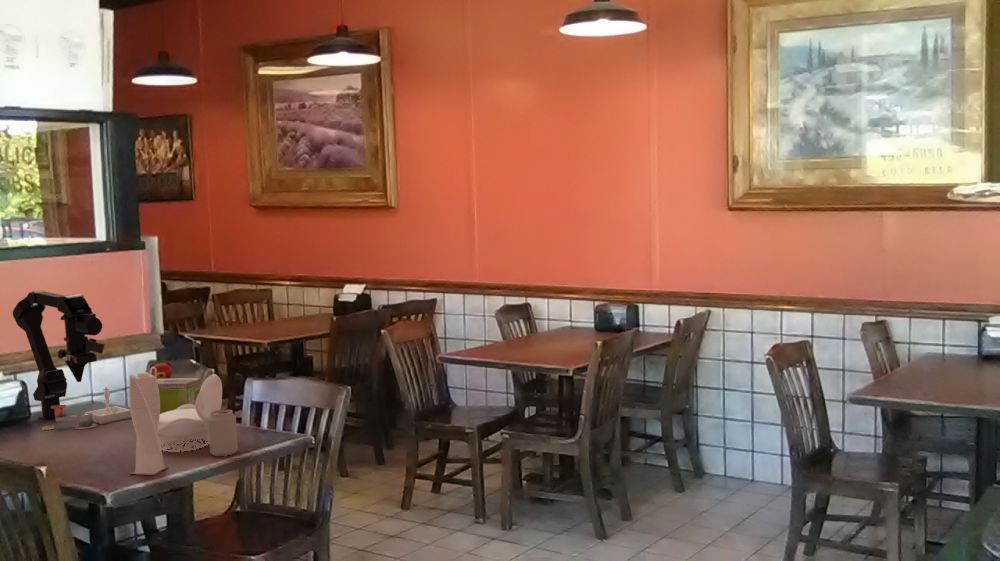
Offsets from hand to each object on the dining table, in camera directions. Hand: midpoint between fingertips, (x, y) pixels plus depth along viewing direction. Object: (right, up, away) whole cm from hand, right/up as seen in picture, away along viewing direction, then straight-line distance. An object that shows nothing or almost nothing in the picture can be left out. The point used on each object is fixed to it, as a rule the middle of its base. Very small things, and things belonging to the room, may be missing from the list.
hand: (79, 381), depth 336 cm
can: (+59, -16, -47) cm, 77 cm away
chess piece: (+8, -12, +4) cm, 15 cm away
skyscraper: (+44, -18, -63) cm, 79 cm away
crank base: (+5, -14, -7) cm, 16 cm away
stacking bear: (+27, -12, +3) cm, 29 cm away
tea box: (+35, -13, -12) cm, 39 cm away
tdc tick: (-6, -14, -8) cm, 18 cm away
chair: (+47, -15, -36) cm, 61 cm away
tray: (+8, -12, +4) cm, 15 cm away
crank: (+1, -13, -7) cm, 15 cm away
